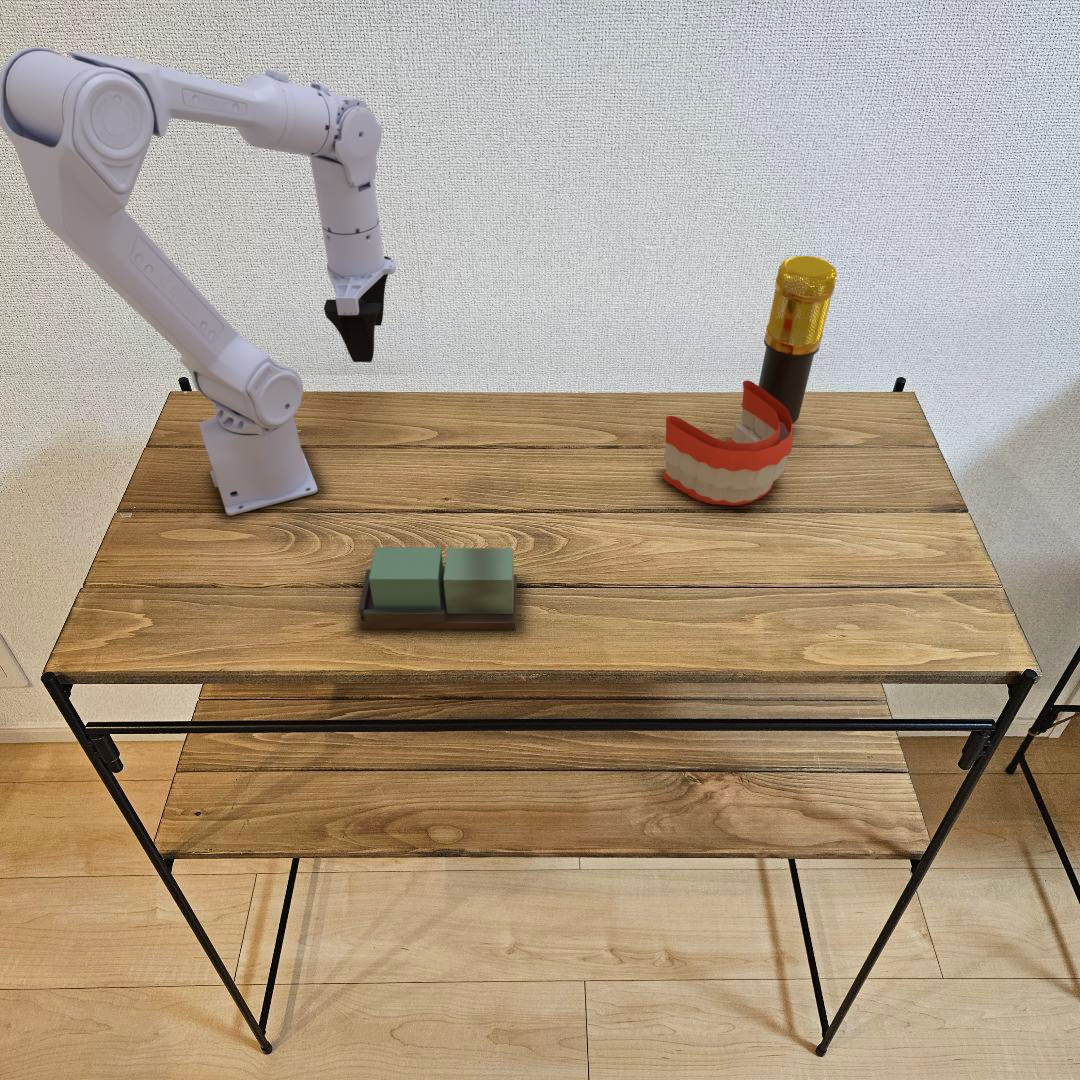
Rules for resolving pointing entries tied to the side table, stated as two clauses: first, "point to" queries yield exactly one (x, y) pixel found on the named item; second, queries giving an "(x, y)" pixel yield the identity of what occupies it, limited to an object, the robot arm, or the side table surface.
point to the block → (407, 578)
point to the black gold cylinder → (796, 328)
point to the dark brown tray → (458, 595)
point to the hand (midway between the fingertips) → (367, 341)
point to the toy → (731, 453)
